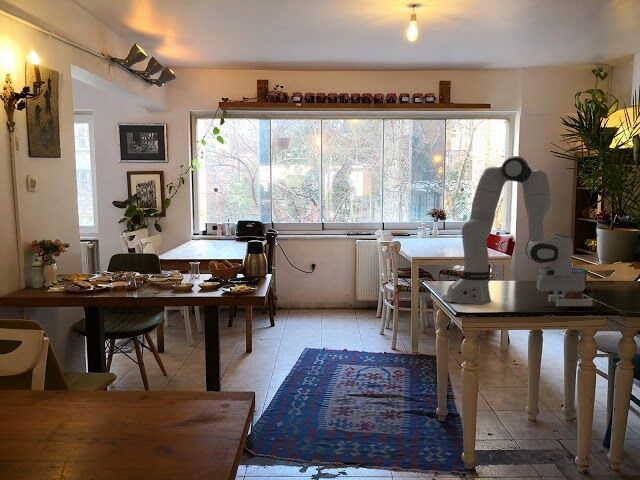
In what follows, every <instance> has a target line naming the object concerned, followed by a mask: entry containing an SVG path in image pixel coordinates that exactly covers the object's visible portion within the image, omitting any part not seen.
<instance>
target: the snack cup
mask: <svg viewBox="0 0 640 480" xmlns="http://www.w3.org/2000/svg"><path fill="white" fill-rule="evenodd" d="M572 270H576V271H578V270H581V271H582V272H584V273H585V278H584V282H585V283H586V281H587V279H588V278H587V275H588V269H585V268H580V267H578V268H577V267H572Z"/></svg>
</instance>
